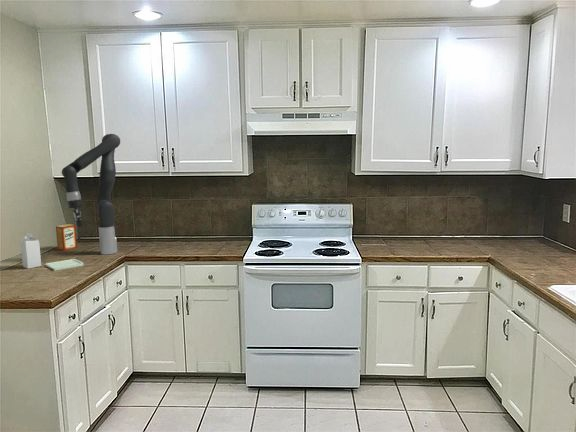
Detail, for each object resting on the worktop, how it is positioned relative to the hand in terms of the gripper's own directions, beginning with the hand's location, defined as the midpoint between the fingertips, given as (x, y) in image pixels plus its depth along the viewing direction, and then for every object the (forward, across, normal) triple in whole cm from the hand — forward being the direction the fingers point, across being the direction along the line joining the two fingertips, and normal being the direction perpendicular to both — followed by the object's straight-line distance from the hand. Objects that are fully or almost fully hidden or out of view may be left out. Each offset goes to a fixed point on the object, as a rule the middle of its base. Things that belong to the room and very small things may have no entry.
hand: (79, 226), depth 268 cm
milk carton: (+18, -5, +28) cm, 34 cm away
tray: (+20, -12, +12) cm, 26 cm away
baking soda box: (+16, +38, +8) cm, 42 cm away
